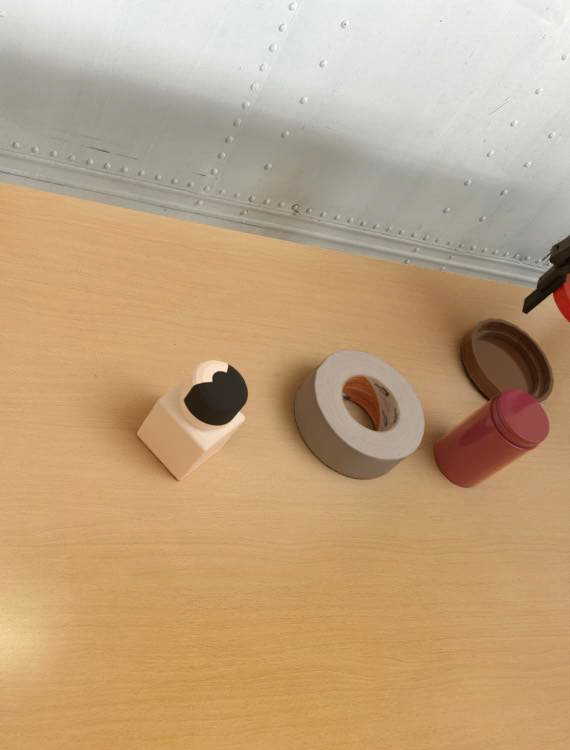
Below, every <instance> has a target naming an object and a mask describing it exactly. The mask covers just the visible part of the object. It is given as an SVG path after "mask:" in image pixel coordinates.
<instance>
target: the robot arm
mask: <svg viewBox="0 0 570 750" xmlns="http://www.w3.org/2000/svg"><path fill="white" fill-rule="evenodd" d="M550 249H551V251H550V255H549V263H550V264H551V265H552V266H551V267H550V268H549V269H547V270H546V271H545V272H544V273H543V274H542V275H540V276H539V278H538V280H537V282H536V288H535V289H533V291H532V292H530V294H528V295H527V296H526V297H525V298H524V299H523V305H522V310H521V313H524V314H525V315H529V313H530V312H531V311H533V310H534V309H535V308H536V307H538V306H539V305H540V304H541V303H542V302H544V301H546V299H547V298H549V297H550V296H551V295H553V292H554V291H555V290H557V289H558V288H559V287H560V286H561V285H563V284H564V283H565V282H566V278H567V274H570V235H569V236H567V237H565V238H564V239H562V240H560V241H559V242H557V243H555V244H553V245H552V247H551V248H550Z"/></svg>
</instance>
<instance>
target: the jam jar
mask: <svg viewBox="0 0 570 750" xmlns="http://www.w3.org/2000/svg"><path fill="white" fill-rule="evenodd" d="M549 433H550V420H549V417H548V415H547V412H546V411H545V409H544V407H543V406H542V405H541V404H540V403H539V402H538V401H537V400H536V399H535V398H534V397H532V396H531V395H530V394H528V393H526V392H524V391H522V390H519V389H507V390H505V391H503V392H502V393H501V394H498V395H496V396H494V397H493V398H492V399H489V400H487V401H486V402H485V403H484V404H482V405H481V406H480V407H478V408H477V409H476V410H474V411H473V412H472V413H471V414H469V415H468V416H466V417H465V418H464V419H462V420H461V421H460V422H458V423H457V424H456V425H454V426H453V427H452V428H451V429H449V430H448V431H446V432H445V433H444V434H443V435H441V436H440V437H439V438H437V440H436V442H435V444H434V452H433V453H434V459H435V461H436V465H437V466H438V468H439V470H440V471H441V473H442V474H443V475H444V476H445V477H446V478H447V480H449V481H450V482H452V483H453V484H455V485H457V486H458V487H461V488H467V489H468V488H469V489H470V488H475V487H477V486H478V485H480V484H483V482H485V481H487V480H489V478H491V477H493V476H494V475H496V474H497V473H499V472H500V471H502V470H503V469H505V468H507V467H509V466H510V465H512V464H513V463H515V462H516V461H518V460H519V459H521V458H522V457H524V456H525V455H528V453H530V452H532V451H533V450H534V449H536V448H537V447H538V446H539V445H540V444H541V443H543V442H544V441H545V439H546V438H548V435H549Z"/></svg>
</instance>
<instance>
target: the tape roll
mask: <svg viewBox="0 0 570 750" xmlns="http://www.w3.org/2000/svg"><path fill="white" fill-rule="evenodd" d="M344 399H346V400H349V401H351V402H354V403H355V404H357V405H359V406H360V407H361V408H362V409H363V410H364V411H365V412H366V414H367V415H368V416H369V418H370V419H371V421H372V423H373V426H374V430H373V429H371V428H368V427H366V426H364V425H362V424H361V423H359V421H357V420H356V419H355V418H354V417H353V415H351V413H350V412H349V410H348V408H347V406H346V404H345V401H344ZM422 406H423V405H422V404H421V401H420V399H419V396H418V395H417V392H416V391H415V390H414V387H413V386H412V385H411V383H410V381H409V380H407V379H406V377H404V376H403V375H402V374H401V373H400V372H399V371H397V370H396V368H395V367H393V366H392V365H391V364H389V363H388V362H386V361H384V360H383V359H382V358H380V357H378V356H375V355H373V354H371V353H368V352H367V351H362V350H356V349H343V350H338V351H334V352H333V353H332V354H330V355H327V356H326V357H325V358H324V359H323V360H322V361H321V362H320V363H319V364H318V365H317V366H316V368H315V369H314V370H313V371H312V372H311V373H310V374H309V376H308V377H307V378H306V379H305V380H304V381H303V382H302V383H301V385H300V386H299V388H298V390H297V392H296V395H295V399H294V407H293V408H294V410H293V411H294V418H295V423H296V426H297V429H298V431H299V433H300V435H301V437H302V439H303V440H304V442H305V444H306V445H307V447H308V448H309V449H310V451H311V452H312V453H313V454H314V455H315V457H317V458H318V459H319V460H320V461H321V462H322V463H323V464H325V465H326V466H327V467H329V468H330V469H332V470H334V471H335V472H337V473H339V474H341V475H344V476H346V477H350V478H354V479H359V480H372V479H378V478H380V477H383V476H385V475H387V474H388V473H389V472H391V471H392V470H393V469H394V468H396V467H397V466H398V465H399V464H401V463H402V462H403V461H404V460H406V459H407V458H408V457H409V456H411V455H412V454H413V453H414V452H415V451H416V450H417V449H418V448H419V446H420V445H421V442H422V440H423V437H424V433H425V425H426V424H425V415H424V409H423V407H422Z"/></svg>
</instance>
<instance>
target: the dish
mask: <svg viewBox="0 0 570 750" xmlns="http://www.w3.org/2000/svg"><path fill="white" fill-rule="evenodd" d="M542 349H543V348H542V347H541V346H540V345H539V344H538V342H537V341H536V340H535V339H534V338H533V337H532V336H531V335H530V334H529V333H528V332H527V331H525V330H524V329H522V328H521V327H519V326H518V325H516V324H514V323H513V322H509V321H508V320H505V319H502V318H494V317H493V318H492V317H491V318H486V319H483V320H481V321H479V322H478V323H477V324H476V325H474V327H472V328H471V329H470V330H469V331H468V332H467V333H466V335H464V337H463V340H462V345H461V355H462V362H463V364H464V367H465V370H466V372H467V374H468V376H469V378H470V379H471V380H472V382H473V383H474V385H475V386H476V387H477V388H478V389H479V390H480V391H481V392H482V393H483V395H485V396H486V397H487V398H488V399H489V400H490V399H492V398H493V397H494V396H496V395H498V394H501V393H502V392H503V391H505V390H507V389H519V390H522V391H524V392H526V393H528V394H530V395H531V396H532V397H534V398H535V399H536V400H537V401H538V402H539V403H540V405H541V404H543V403H544V402H545V401H546V400H548V398H549V397H550V395H551V394H552V393H553V389H554V382H555V380H554V373H553V369H552V366H551V364H550V362H549V359H548V357H547V355H546V353H545V352H544V350H542Z"/></svg>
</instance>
